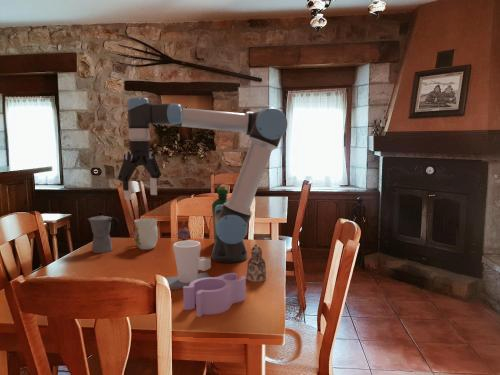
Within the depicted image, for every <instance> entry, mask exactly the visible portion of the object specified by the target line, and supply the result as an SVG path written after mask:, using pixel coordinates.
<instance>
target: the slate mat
mask: <svg viewBox="0 0 500 375" xmlns="http://www.w3.org/2000/svg"><path fill="white" fill-rule="evenodd" d="M207 277H211V276H210V275H209V274H208V272H200V273H199V272H198V274H197V279H200V278H207ZM165 278H166V279H167V280H168V282H169V286H170V290H169V291H172V290H173V291H174V290H180V289H181V290H182V289H183V287H184V286H189V284H190V283H191V282H190V283H183V282H180V281H179V278H178V275H176V276H168V277H165Z"/></svg>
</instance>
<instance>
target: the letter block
mask: <svg viewBox="0 0 500 375" xmlns="http://www.w3.org/2000/svg"><path fill="white" fill-rule="evenodd" d="M211 259H212V257H210V258H209V257H205V256H201V257H199V265H198V271H203V272H205V271H206V272H207V270H210V269H211V268H212V265H211V264H212V262H211V261H212V260H211Z"/></svg>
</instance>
